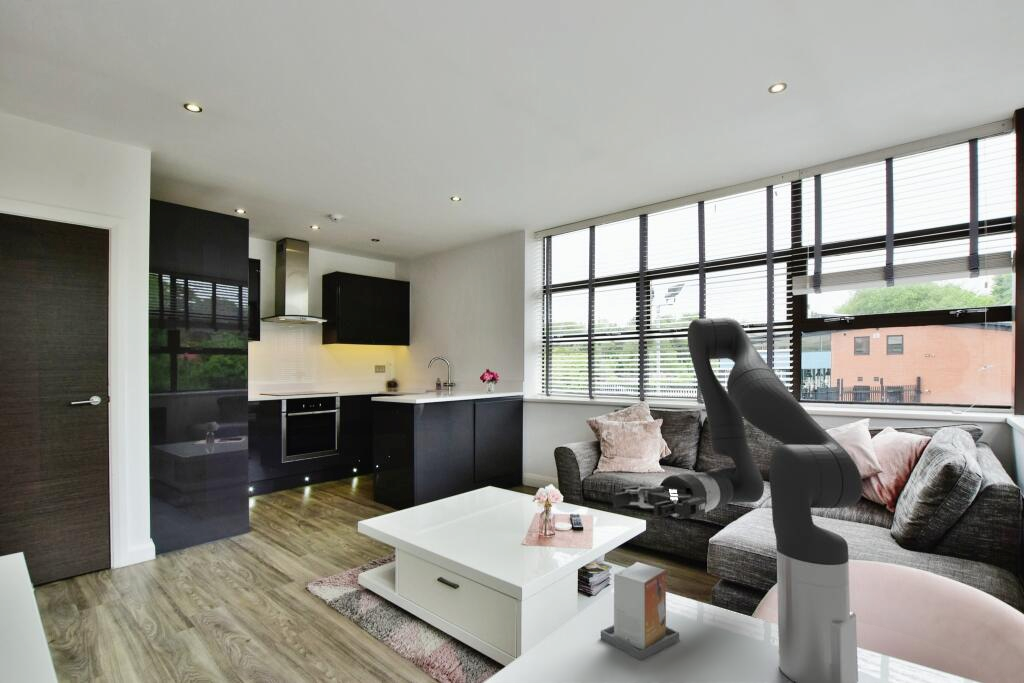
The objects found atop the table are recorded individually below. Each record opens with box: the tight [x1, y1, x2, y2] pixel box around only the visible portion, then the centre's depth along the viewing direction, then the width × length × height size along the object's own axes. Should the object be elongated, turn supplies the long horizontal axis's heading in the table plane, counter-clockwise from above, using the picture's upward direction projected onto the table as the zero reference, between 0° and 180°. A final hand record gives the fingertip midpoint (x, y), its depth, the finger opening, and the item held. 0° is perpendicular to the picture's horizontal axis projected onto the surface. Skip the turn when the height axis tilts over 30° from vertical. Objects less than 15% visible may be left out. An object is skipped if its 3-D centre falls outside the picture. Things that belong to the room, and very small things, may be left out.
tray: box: [600, 624, 680, 661], centre depth 83 cm, size 8×10×1 cm
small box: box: [613, 561, 667, 650], centre depth 83 cm, size 8×6×10 cm
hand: (634, 505), depth 83 cm, fingers open, 8 cm apart
